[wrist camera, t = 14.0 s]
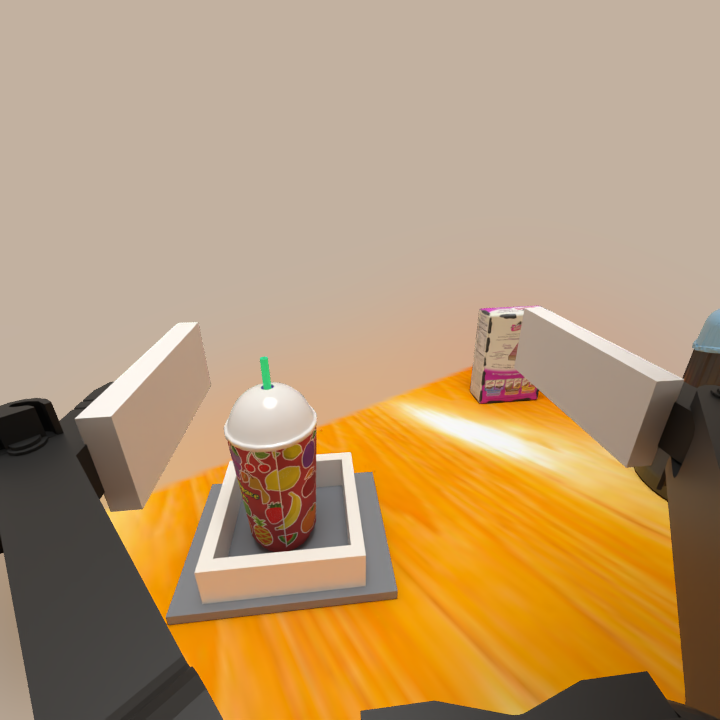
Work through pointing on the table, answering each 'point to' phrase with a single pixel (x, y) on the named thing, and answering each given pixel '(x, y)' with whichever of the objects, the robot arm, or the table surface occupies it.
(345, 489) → the board
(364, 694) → the table surface
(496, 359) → the candy bar box
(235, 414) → the smoothie
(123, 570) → the robot arm
